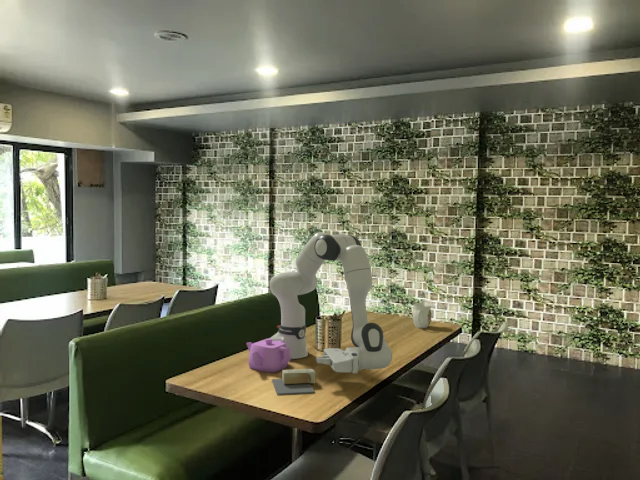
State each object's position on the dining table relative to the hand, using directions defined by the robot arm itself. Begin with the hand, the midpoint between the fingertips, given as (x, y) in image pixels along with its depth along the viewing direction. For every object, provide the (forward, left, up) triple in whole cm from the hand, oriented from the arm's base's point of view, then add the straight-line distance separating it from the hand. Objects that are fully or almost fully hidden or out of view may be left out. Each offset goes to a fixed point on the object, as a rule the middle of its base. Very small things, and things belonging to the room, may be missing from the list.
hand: (316, 360), depth 201 cm
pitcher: (-26, +117, -10) cm, 121 cm away
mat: (-5, -8, -10) cm, 14 cm away
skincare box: (-2, +1, -7) cm, 8 cm away
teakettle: (-30, +1, -10) cm, 32 cm away
